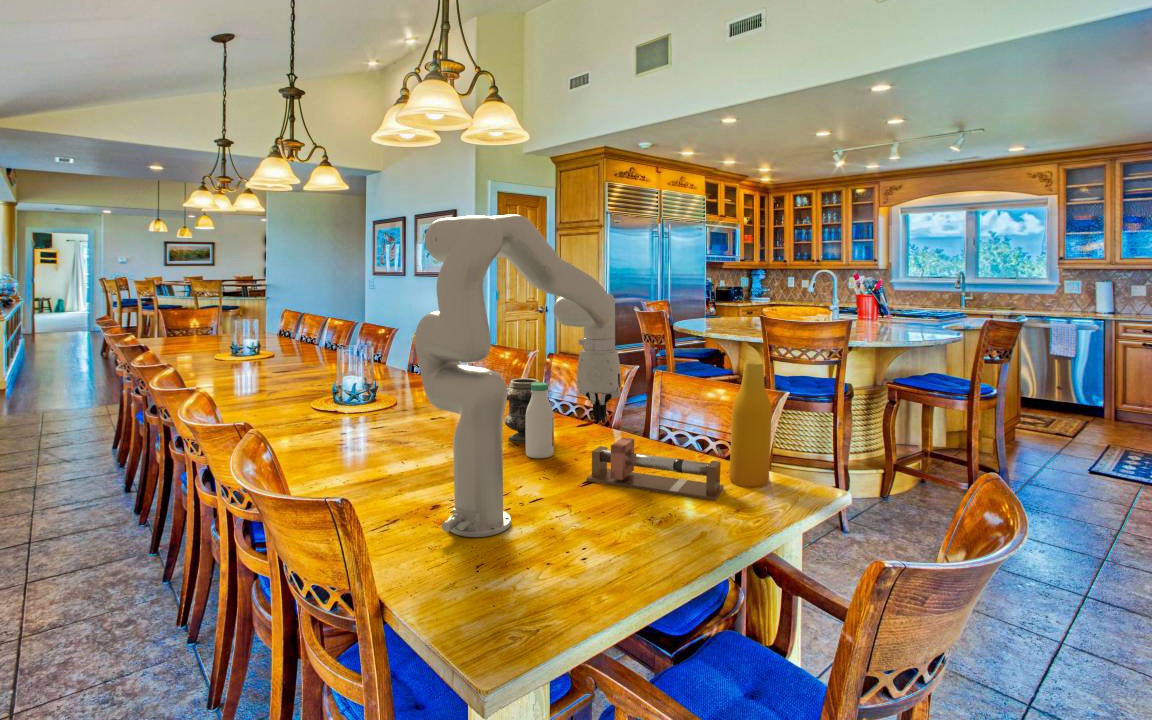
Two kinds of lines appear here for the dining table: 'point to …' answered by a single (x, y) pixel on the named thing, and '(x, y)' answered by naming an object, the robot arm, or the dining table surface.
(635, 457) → the pipe rig
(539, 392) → the milk bottle
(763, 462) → the beer bottle
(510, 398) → the apothecary jar
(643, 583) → the dining table surface
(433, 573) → the dining table surface
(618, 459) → the collar
